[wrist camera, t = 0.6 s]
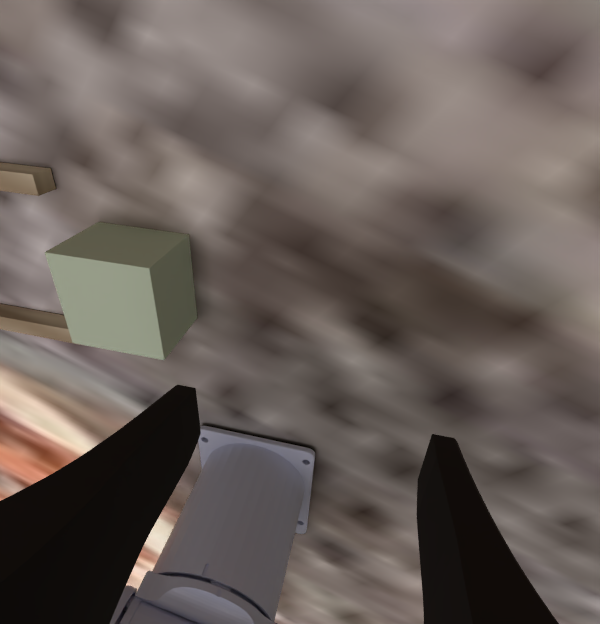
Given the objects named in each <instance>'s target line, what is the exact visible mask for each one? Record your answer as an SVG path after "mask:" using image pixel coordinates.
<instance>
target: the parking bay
mask: <svg viewBox="0 0 600 624" xmlns="http://www.w3.org/2000/svg"><path fill="white" fill-rule="evenodd" d="M54 189H56V187H55V183H54V179H53V176H52V172H51V168H43V167H35V166H26V165H18V164H10V163H2V162H0V191H7V192H14V193H22V194H29V195H37V196H39V195H42V194H44V193H47V192H49V191H52V190H54ZM0 329H2V330H8V331H13V332H18V333H23V334H28V335H34V336H39V337H44V338H49V339H54V340H60V341H65V342H70V343H73V342H72V339H71V336H70V332H69V329H68V326H67V323H66V320H65V316H64V315H60V314H54V313H49V312H43V311H38V310H32V309H27V308H21V307H16V306H10V305H5V304H0ZM75 344H76V343H75ZM80 345H81V344H80Z"/></svg>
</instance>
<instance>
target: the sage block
mask: <svg viewBox="0 0 600 624" xmlns="http://www.w3.org/2000/svg"><path fill="white" fill-rule="evenodd" d="M45 255H46V258H47V261H48V265H49V268H50V271H51V274H52V278H53V281H54V284H55V287H56V290H57V294H58V297H59V300H60V303H61V307H62V310H63V313H64V316H65V320H66V323H67V326H68V329H69V332H70V336H71V339H72V342H73V343H76V344H81V345H86V346H92V347H97V348H102V349H108V350H113V351H118V352H123V353H129V354H134V355H139V356H145V357H150V358H155V359H161V360H165V359H166V357H167V356H168V355H169V354H170V352H171V351H172V350H173V348H174V347H175V346H176V345H177V343H178V342H179V341H180V339H181V338H182V337H183V336H184V334H185V333H186V332H187V331H188V329H189V328H190V327H191V325H192V324H193V323H194V322H195V320H196V319H197V309H196V299H195V290H194V280H193V270H192V260H191V250H190V240H189V234H182V233H174V232H167V231H160V230H153V229H145V228H138V227H131V226H124V225H116V224H109V223H102V222H98V223H96V224H94V225H92V226H91V227H89V228H87V229H85V230H84V231H82V232H80V233H78V234H76V235H75V236H73V237H71V238H69V239H68V240H66V241H64V242H62V243H60V244H59V245H57V246H55V247H53V248H52V249H50V250H48V251H46V252H45Z"/></svg>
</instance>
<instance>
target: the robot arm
mask: <svg viewBox="0 0 600 624" xmlns="http://www.w3.org/2000/svg"><path fill="white" fill-rule="evenodd" d="M198 441H199V450H200V458H201V467H202V471H201V473H200V475H199V477H198V479H197V481H196V483H195V485H194V487H193V489H192V491H191V493H190V495H189V498H188V500H187V502H186V504H185V506H184V508H183V510H182V512H181V514H180V516H179V518H178V520H177V522H176V524H175V526H174V528H173V530H172V532H171V534H170V536H169V538H168V540H167V542H166V544H165V546H164V548H163V550H162V553H161V555H160V557H159V559H158V561H157V563H156V565H155V567H154V569H153V571H147V573H146V575H145V577H144V579H143V581H142V583H141V585H140V587H139V589H138V591H137V588H134V587H132V586H126V583H127V581H128V579H129V576H130V574H131V572H132V570H133V567H134V565H135V563H136V561H137V559H138V556H139V554H140V552H141V550H142V547H143V545H144V543H145V541H146V539H147V537H148V535H149V534H150V532H151V530H152V528H153V526H154V524H155V523H156V521H157V519H158V517H159V515H160V514H161V512H162V510H163V508H164V507H165V505H166V503H167V501H168V500H169V498H170V496H171V494H172V492H173V491H174V489H175V487H176V485H177V484H178V482H179V480H180V478H181V476H182V475H183V473H184V471H185V469H186V467H187V465H188V464H189V461H190V459H191V457H192V454H193V452H194V449H195V447H196V444H197V442H198ZM314 461H315V452H314V451H313V450H312V449H310V448H307V447H302V446H297V445H293V444H288V443H283V442H279V441H274V440H269V439H265V438H260V437H256V436H251V435H246V434H242V433H237V432H232V431H228V430H223V429H218V428H214V427H209V426H201V427H200V422H199V414H198V405H197V397H196V389H195V388H192V387H186V386H181V385H176V386H175V387H174V388H172V389H171V390H170V391H168V392H167V393H166V394H165V395H163V396H162V397H161V398H160V399H158V400H157V401H156V402H155V403H153V404H152V405H151V406H150V407H148V408H147V409H146V410H144V411H143V412H142V413H141V414H139V415H138V416H137V417H135V418H134V419H133V420H131V421H130V422H129V423H127V424H126V425H125V426H124V427H122V428H121V429H120V430H118V431H117V432H116V433H114V434H113V435H111V436H110V437H108V438H107V439H106V440H104V441H103V442H101V443H100V444H98V445H97V446H96V447H94V448H93V449H91V450H90V451H88V452H87V453H85V454H84V455H82V456H81V457H79V458H78V459H76V460H74V461H73V462H71V463H70V464H68V465H66V466H65V467H63V468H61V469H60V470H58V471H56V472H55V473H53V474H51V475H49V476H48V477H46V478H44V479H42V480H40V481H38V482H36V483H34V484H33V485H31V486H29V487H27V488H25V489H23V490H21V491H19V492H17V493H16V494H14V495H12V496H10V497H8V498H6V499H4V500H1V501H0V624H277V623H275V622H274V620H275V616H276V611H277V607H278V603H279V599H280V594H281V590H282V586H283V582H284V577H285V573H286V569H287V565H288V560H289V556H290V552H291V548H292V543H293V539H294V535H295V533H298V534H304V533H306V531H307V525H308V516H309V507H310V498H311V488H312V479H313V470H314ZM417 525H418V539H419V552H420V564H421V577H422V590H423V605H424V624H559V623H558V622H557V621H556V619H555V618H554V617H553V615H552V614H551V612H550V611H549V609H548V608H547V606H546V605H545V604H544V602H543V601H542V599H541V598H540V596H539V595H538V593H537V592H536V590H535V589H534V587H533V586H532V584H531V583H530V581H529V580H528V578H527V577H526V575H525V574H524V572H523V570H522V569H521V567H520V566H519V564H518V562H517V561H516V559H515V557H514V556H513V554H512V552H511V551H510V549H509V547H508V545H507V544H506V542H505V540H504V538H503V537H502V535H501V533H500V531H499V530H498V528H497V526H496V524H495V522H494V520H493V519H492V517H491V515H490V513H489V511H488V509H487V507H486V505H485V503H484V501H483V499H482V497H481V495H480V493H479V491H478V489H477V487H476V485H475V483H474V480H473V478H472V476H471V474H470V472H469V469H468V467H467V465H466V462H465V460H464V458H463V455H462V453H461V450H460V448H459V445H458V443H457V441H456V440H455V438H450V437H445V436H440V435H435V434H432V436H431V440H430V443H429V446H428V449H427V452H426V455H425V459H424V462H423V465H422V468H421V471H420V474H419V478H418V491H417ZM136 592H137V593H136Z"/></svg>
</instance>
